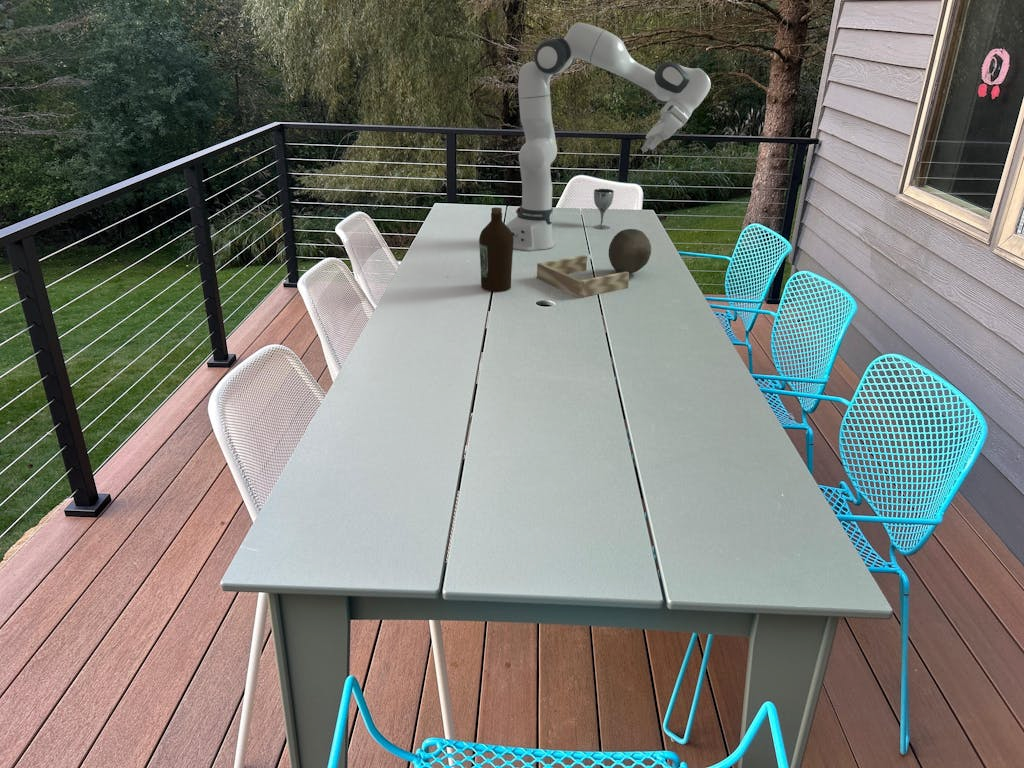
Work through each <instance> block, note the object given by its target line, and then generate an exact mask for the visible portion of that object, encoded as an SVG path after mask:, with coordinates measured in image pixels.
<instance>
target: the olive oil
mask: <svg viewBox="0 0 1024 768" xmlns="http://www.w3.org/2000/svg"><path fill="white" fill-rule="evenodd" d="M502 211H503V209H502V207H492V208H491V213H490V222H488V223H487V225H486V226H484V227H483V229H482V230H481V232H480V235H479V239H478V244H479V245H478V247H479V259H480V261H479V262H480V263H479V264H480V287H481V289H482V290H485V291H486V290H487V292H491V291H492V292H491V293H497V292H499V293H501V292H506V291H508V290H510V289H511V287H512V273H513V272H512V271H513V270H512V268H513V267H512V266H513V257H514V256H513V254H514V252H513V251H514V248H513V243H514V239H513V235H512V232H511V231H510V229H509V228H508V227H507V226H506V224H505V222H504V221H503V213H502Z"/></svg>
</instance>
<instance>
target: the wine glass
mask: <svg viewBox="0 0 1024 768" xmlns="http://www.w3.org/2000/svg"><path fill="white" fill-rule="evenodd" d="M614 192H615V191H614V190H613V189H610V188H595V189H594V190H593V202H594V205H595V207H596V209H598V211H599V213H600V224H597V225H596V224H595V225H593V226H592V228H593V229H597V230H610V229H611V227H610V226H608V225H605V224H603V222H604V216H605V213H606V211H607V210H608V209H609V208H610V207H611V205H612V204H613V200H614Z"/></svg>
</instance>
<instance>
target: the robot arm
mask: <svg viewBox="0 0 1024 768" xmlns="http://www.w3.org/2000/svg"><path fill="white" fill-rule="evenodd" d="M533 56H534V61H529V62H527V63H525V64H523V65H522V66H521V67H520V69H519V72H518V73H519V74H518V86H517V88H518V89H517V90H518V103H519V105H518V106H519V115H520V116H519V117H520V119H519V120H520V123H521V125H522V129H523V133H524V138H525V143H524V144H523V145H522V146H521V148H520V150H519V152H518V163H519V169H520V170H519V171H520V177H521V184H522V185H521V186H522V189H521V191H522V193H521V197H522V198H521V205H519V207H517V209H516V210H515V213H516V215H517V216H516V217H515V218H513V219H511V220H510V221H509V222H508V223H506V224H505V225H506V226H507V227H508V228H509V229H510V231H511V232H512V235H513V239H514V243H513V249H516V250H522V251H526V252H530V251H536V250H539V251H540V250H547V249H552V248H554V247H555V245H556V244H555V241H554V235H553V225H552V223H553V220H554V219H553V218H554V213H553V212H554V209H553V207H552V206H553V183H552V176H551V175H552V174H551V165H552V163H553V162H554V161H556V158H557V154H558V145H557V140H556V135H555V134H556V133H555V127H554V124H553V117H552V101H551V89H550V88H551V87H550V84H551V83H550V82H551V78H552V77H553V76H556V75H558V74H561V73H562V72H565V71H567V70H568V69H569V68H571V66H572V65H573V63H574V62H575V59H578V60H579V59H580V60H583V61H584V62H586V63H590V64H592V65H593V66H595V67H598V68H600V69H603V70H605V71H608V72H610V73H612V74H615V75H617V76H619V77H621V78H622V79H624V80H626V81H628V82H630V83H632V84H634V85H636V86H637V87H639V88H642V89H643V90H644V91H646V92H648V93H649V94H650V95H651V97H652V98H653V99H654V100H655V101H656V102H657V103H659V104H660V105H663V107H662V108H661V109H660V111H659V112H660V115H661V116H660V117H659V120H658V121H657V122H656V123H655V124H654V125H653V126H652V128H651V129H650V130H649V131H648V132H647V134H646V136H645V139H646V141H645V142H644V144H643V146H642V147H641V151H642V152H644V153H647V151H648V150H649V149H650V150H651V151H653V150H655V149H656V147H657V146H658V145H660V143H662V141H666V140H668V139H670V138H671V137H672V136H673V135H674V134H675V133H676V131H677V130H678V129H681V128H682V127H683V126H684V125H685V124H686V123H687V122H688V120H689V119H690V117H691V116H692V113H693V112H694V110H695V109H697V108H698V107H699V106H700V104H702V102H703V101H704V99H705V98H706V96H707V95H708V94H709V92H710V89H711V87H712V86H711V85H712V83H711V79H710V77H709V75H708V74H707V73H706V71H705V70H703V69H702V68H699V67H696V68H692V67H685V66H683V65H680V64H679V63H677V62H675V61H665V62H662V63H661V64H659V65H658V66H657V68H656V69H655V71H654V70H652V69H651V68H648V67H646V66H645V65H643V64H641V63H639V62H638V61H636V60H634V58H633V57H632V56H631V55H630V53H629V52H628V50H627V48H626V45H625V43H624V42H623V40H622V39H620V38H619V37H618V36H617V35H615V34H614V33H612V32H610V31H608V30H606V29H603V28H602V27H598V26H596V25H594V24H589V23H584V22H581V21H578V22H575V23H574V24H572V26H571V27H569V29H568V31H567V33H566V35H565V36H564V38H563V37H552V38H549V39H546V40H543V41H542V42H541V43H539V45H538V46H537V47H536V49H535V51H534V55H533Z"/></svg>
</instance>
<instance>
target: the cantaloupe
mask: <svg viewBox="0 0 1024 768" xmlns="http://www.w3.org/2000/svg"><path fill="white" fill-rule="evenodd" d="M651 254H652V245H651V241H650V239H649V238H648V236H647V235H646V233H644V231H642V230H640V229H636V228H626V229H623V230H620V231H619V232H617V233H616V234H615V235H614V236H613V237H612V239H611V242H610V244H609V246H608V259H609V262H610V265H611V267H612V268H613V270H614V271H616V272H617V273H621V272H629V275H630V274H634V273H637V272H638V271H640V270H641V269H642V268H644V267H645V266H646V265H647V264H648V262H649V260H650V257H651Z"/></svg>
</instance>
